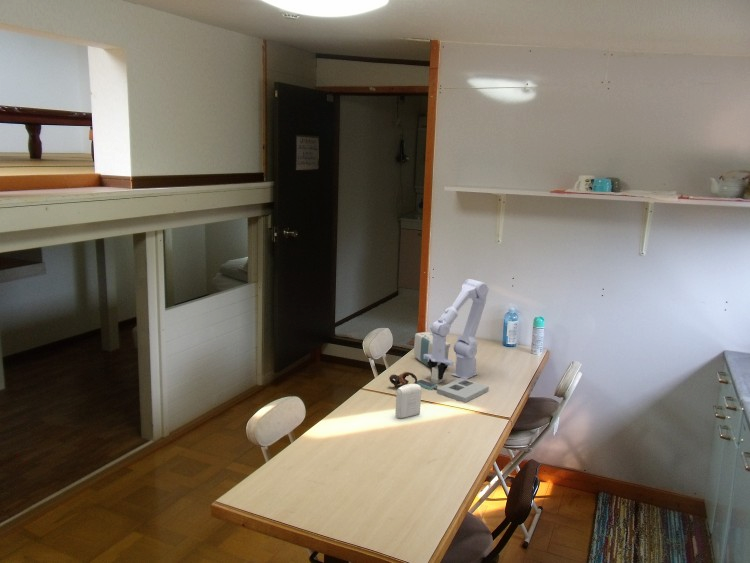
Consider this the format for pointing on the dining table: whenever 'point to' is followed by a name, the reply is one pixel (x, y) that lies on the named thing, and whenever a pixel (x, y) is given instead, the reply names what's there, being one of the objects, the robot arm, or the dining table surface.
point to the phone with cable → (427, 384)
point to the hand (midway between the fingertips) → (437, 377)
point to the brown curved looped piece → (402, 379)
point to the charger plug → (435, 375)
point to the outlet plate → (462, 390)
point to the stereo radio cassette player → (426, 346)
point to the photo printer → (408, 400)
